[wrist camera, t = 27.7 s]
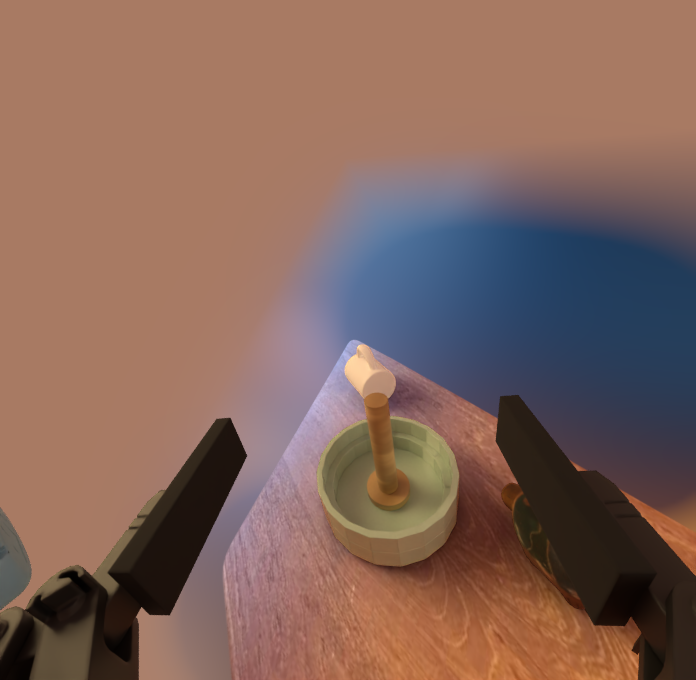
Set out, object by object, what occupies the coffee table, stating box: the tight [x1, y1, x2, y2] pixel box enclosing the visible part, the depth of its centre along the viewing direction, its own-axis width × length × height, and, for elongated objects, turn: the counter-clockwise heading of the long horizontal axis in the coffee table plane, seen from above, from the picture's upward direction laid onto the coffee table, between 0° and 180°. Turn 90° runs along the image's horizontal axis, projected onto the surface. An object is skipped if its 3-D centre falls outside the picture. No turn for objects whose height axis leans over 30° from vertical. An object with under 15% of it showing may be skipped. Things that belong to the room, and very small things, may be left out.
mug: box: [345, 345, 396, 399], centre depth 63 cm, size 8×10×12 cm
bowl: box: [317, 416, 459, 566], centre depth 41 cm, size 20×20×6 cm
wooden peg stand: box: [364, 393, 410, 511], centre depth 38 cm, size 6×6×17 cm
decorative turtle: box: [501, 483, 585, 609], centre depth 30 cm, size 10×15×8 cm, turn 27°
